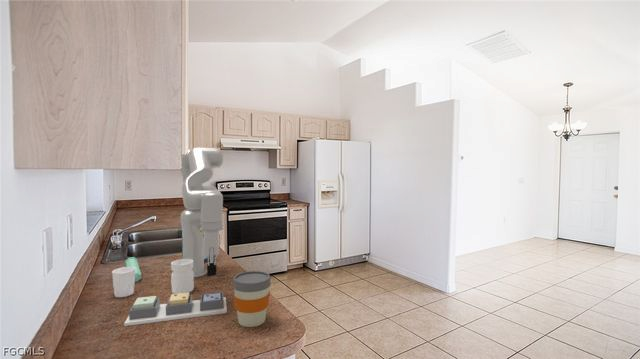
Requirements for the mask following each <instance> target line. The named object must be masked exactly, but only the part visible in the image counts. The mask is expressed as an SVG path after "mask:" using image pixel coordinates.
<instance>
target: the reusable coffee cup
mask: <svg viewBox="0 0 640 359" xmlns="http://www.w3.org/2000/svg"><path fill="white" fill-rule="evenodd" d="M270 288H271V276H270V274H269V272H265V271H260V270H259V271H258V270H253V271H252V270H251V271H249V270H248V271H244V272H240V273H238V274H236V275H235V276H233V282H232V289H233V291H234V293H233V301H234V308H235V310H236V313H237V314H236V315H237V321H238V324H239V326H241V327H246V328H252V327H253V328H254V327H258V326H260V325H262V324H263V323H264V322H265V321H266V315H267V308H268V307H269V301H270V295H271V292H270Z"/></svg>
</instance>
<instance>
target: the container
mask: <svg viewBox="0 0 640 359" xmlns="http://www.w3.org/2000/svg"><path fill="white" fill-rule="evenodd" d="M138 261H139V260H138V259H137V258H136V257H135V256H132V257H128V258H127V259H126V260H125V261H124V267H134V268H135V283H137V282H140V280H141V279H142V271H141V270H140V266H139V264H138Z"/></svg>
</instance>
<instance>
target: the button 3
mask: <svg viewBox="0 0 640 359" xmlns="http://www.w3.org/2000/svg"><path fill="white" fill-rule="evenodd" d="M214 300H221V293H216V294H207V295H204V298H203V302H205V301H214Z"/></svg>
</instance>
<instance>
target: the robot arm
mask: <svg viewBox="0 0 640 359" xmlns="http://www.w3.org/2000/svg"><path fill="white" fill-rule="evenodd" d="M223 162H224V154H223V153H222V150H221V149H220V148H217V147H205V146H203V147H202V146H201V147H199V146H197V147H196V146H195V147H193V148H190V149H188V153H187V154H186V155H183V158H182V168H181V169H180V168H179V170H180V173H181V175H182V186H181V194H182V195H181V196H182V202H183V206H184V208H185V210H183V211H181V213H180V217H179V219H180V226H181V231H182V232H181V233H182V234H181V238H182V237H183V259H191V260H193V268H192V269H191V270H192V271H193V272H194V278H199V277H202V276H205V275H206V276H207V277H213V276H217V263H216V262H217V261H216V260H217V259H218V257H219V256H218V255H219V249H220V247H219V244H220V232H221V231H222V230H223V225H224V224H223V221H224V218H223V216H224V215H223V212H224V211H223V206H224V205H223V204H224V197H223V196H224V195H223V194H222V193H221V191H220V190H218V188H217V187H216V186H214V185H203V184H205V183H206V182H209V181H210V180H211V179H212V178H213V175H214V173H213V168H220V167H221V166H222V165H223ZM199 229H200V230H199ZM200 231H203V232H204V237H203V235H202V233H201V232H200ZM207 257H208V262H207V264H206V267H205V262H204V259H205V258H207Z"/></svg>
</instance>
